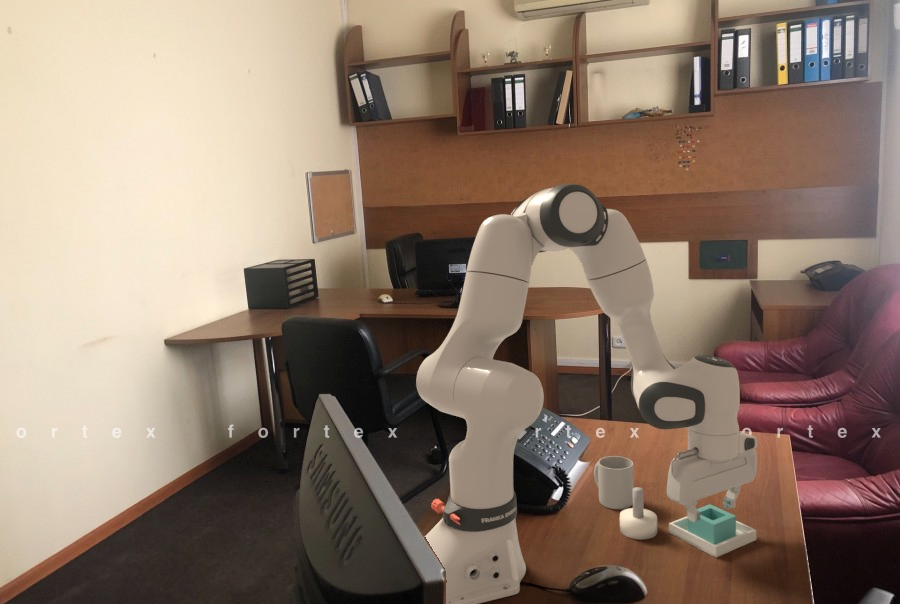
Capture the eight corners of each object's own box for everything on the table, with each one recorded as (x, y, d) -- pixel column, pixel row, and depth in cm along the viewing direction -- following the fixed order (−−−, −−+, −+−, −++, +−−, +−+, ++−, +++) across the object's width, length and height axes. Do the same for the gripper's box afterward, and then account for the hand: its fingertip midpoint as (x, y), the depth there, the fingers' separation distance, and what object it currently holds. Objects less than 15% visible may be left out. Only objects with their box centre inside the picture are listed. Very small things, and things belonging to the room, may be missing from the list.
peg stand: (638, 543, 130) (637, 500, 128) (612, 528, 136) (611, 487, 134) (665, 532, 133) (664, 491, 132) (638, 518, 139) (638, 478, 138)
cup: (615, 513, 142) (614, 472, 141) (583, 496, 151) (582, 457, 149) (641, 504, 145) (640, 463, 144) (608, 487, 154) (607, 449, 153)
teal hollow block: (713, 545, 127) (713, 524, 126) (681, 528, 133) (681, 509, 133) (735, 535, 129) (736, 515, 129) (703, 520, 136) (703, 501, 135)
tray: (715, 557, 123) (715, 547, 123) (668, 532, 133) (668, 523, 133) (756, 539, 129) (756, 529, 128) (708, 517, 138) (708, 508, 138)
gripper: (685, 460, 120) (685, 535, 122) (764, 436, 129) (762, 506, 131) (658, 449, 125) (658, 521, 127) (735, 427, 135) (734, 494, 137)
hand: (711, 513), depth 129 cm, fingers open, 8 cm apart
